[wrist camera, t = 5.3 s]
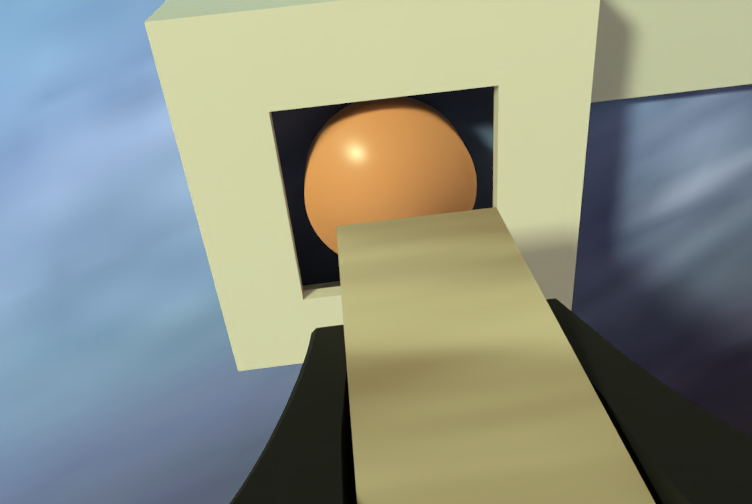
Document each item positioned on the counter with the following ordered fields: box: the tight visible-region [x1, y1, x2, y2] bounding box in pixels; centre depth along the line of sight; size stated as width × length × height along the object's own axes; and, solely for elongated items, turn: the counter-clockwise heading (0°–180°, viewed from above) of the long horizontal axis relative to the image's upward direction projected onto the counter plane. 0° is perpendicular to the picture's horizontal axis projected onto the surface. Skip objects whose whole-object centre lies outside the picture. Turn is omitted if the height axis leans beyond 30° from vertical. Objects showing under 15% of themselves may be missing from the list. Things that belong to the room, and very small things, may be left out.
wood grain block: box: [336, 207, 656, 504], centre depth 11 cm, size 4×4×9 cm
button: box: [304, 96, 477, 254], centre depth 19 cm, size 5×5×1 cm
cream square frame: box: [144, 0, 600, 371], centre depth 19 cm, size 11×11×3 cm
